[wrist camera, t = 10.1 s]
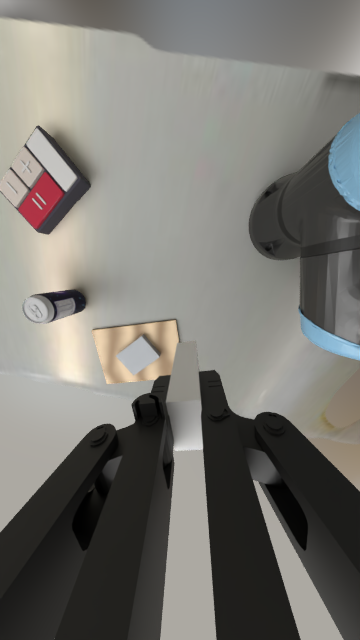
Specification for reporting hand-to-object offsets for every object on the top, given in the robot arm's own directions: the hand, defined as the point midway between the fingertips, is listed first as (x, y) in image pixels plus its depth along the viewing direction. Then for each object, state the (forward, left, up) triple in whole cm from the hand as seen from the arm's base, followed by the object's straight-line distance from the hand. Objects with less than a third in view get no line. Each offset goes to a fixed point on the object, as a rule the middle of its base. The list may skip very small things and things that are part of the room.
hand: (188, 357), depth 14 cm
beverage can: (+28, -4, -29) cm, 40 cm away
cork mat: (+15, +12, -28) cm, 34 cm away
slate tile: (+11, +10, -27) cm, 31 cm away
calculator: (+27, -28, -29) cm, 48 cm away
